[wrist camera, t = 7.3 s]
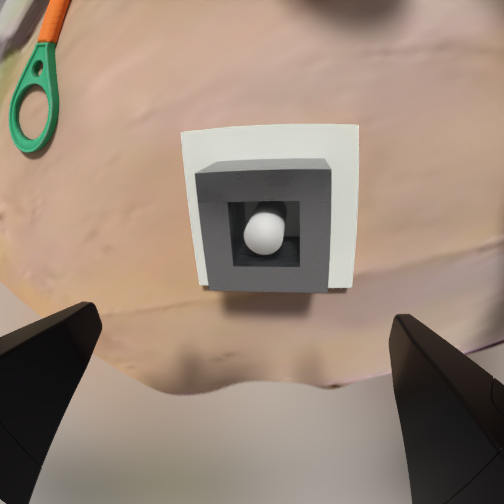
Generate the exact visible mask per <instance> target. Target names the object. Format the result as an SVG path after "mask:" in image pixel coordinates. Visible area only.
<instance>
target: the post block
mask: <svg viewBox="0 0 504 504" xmlns="http://www.w3.org/2000/svg"><path fill="white" fill-rule="evenodd" d="M181 142H182V153H183V163H184V172H185V181H186V190H187V198H188V207H189V215H190V222H191V230H192V237H193V245H194V252H195V258H196V265H197V272H198V278H199V285H208V279H207V272H206V265H205V257H204V250H203V242H202V234H201V226H200V218H199V210H198V201H197V192H196V183H195V173H196V172H198V171H200V170H202V169H204V168H206V167H208V166H209V165H211V164H213V163H215V162H217V161H233V160H253V159H286V158H325V160H326V161H327V163H328V165H329V166H330V168H331V169H332V193H331V239H330V263H329V281H328V288H352V280H353V270H354V259H355V246H356V231H357V213H358V187H359V125H352V124H271V125H251V126H235V127H223V128H212V129H202V130H193V131H185V132H181ZM244 204H245V218H246V228H245V231H244V240H245V243H246V245H247V246H248V247H249V249H250V250H252V251H253V252H255V253H257V254H261V255H267V254H271V253H274V252H275V251H277V250H278V249H279V248H280V246H281V244H282V242H283V236H296V237H300V204H299V201H251V202H244Z"/></svg>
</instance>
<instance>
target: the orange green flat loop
mask: <svg viewBox="0 0 504 504" xmlns="http://www.w3.org/2000/svg"><path fill="white" fill-rule="evenodd" d="M69 2H70V0H50V2H49V5H48V8H47V11H46V14H45V17H44V21H43V24H42V27H41V30H40V34H39V38H38V43H37V44H36V46H35V48H34V51H33V53H32V55H31V57H30V59H29V60H28V62H27V65H26V67H25V69H24V71H23V73H22V75H21V77H20V79H19V81H18V84H17V86H16V88H15V91H14V93H13V96H12V99H11V102H10V107H9V129H10V134H11V137H12V139H13V142H14V144H15V145H16V147H17V148H18V149H19V150H21V151H23V152H27V153H29V152H35V151H38V150H39V149H41V148H43V147H44V146H45V145H46V144H47V142H48V141H49V139H50V138H51V136H52V134H53V132H54V129H55V126H56V123H57V119H58V113H59V93H58V84H57V74H56V62H55V45H56V42H57V39H58V36H59V32H60V29H61V26H62V23H63V20H64V17H65V13H66V10H67V8H68V5H69ZM41 62H43V70H42V73H41V75H40V76H39V75H38V67H39V65H40V64H41ZM35 84H38V85H40V86H41V87H42V88H43V89H44V90H45V92H46V94H47V98H48V103H49V113H48V120H47V123H46V126H45V128H44V131H43V132H42V134H41V135H40V136H39V137H38V138H37V139H35V140H31V139H29V138H27V137H26V136H25V135H24V134H23V132H22V130H21V128H20V124H19V108H20V104H21V101H22V98H23V96H24V95H25V93H26V92H27V90H28V89H29V88H30V87H32V86H33V85H35Z"/></svg>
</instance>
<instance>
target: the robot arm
mask: <svg viewBox="0 0 504 504" xmlns="http://www.w3.org/2000/svg"><path fill="white" fill-rule="evenodd" d="M101 331H102V322H101V319H100V317H99V314H98V311H97V308H96V306H95V304H94V303H92V302H81V303H78V304H76V305H73V306H71V307H69V308H66V309H64V310H62V311H59V312H57V313H55V314H52V315H50V316H48V317H45V318H43V319H41V320H38V321H36V322H34V323H31V324H29V325H27V326H25V327H22V328H20V329H18V330H15V331H13V332H11V333H9V334H6V335H4V336H2V337H0V499H1V500H2V501H3V502H5V503H6V504H29V502H30V499H31V496H32V493H33V490H34V487H35V484H36V482H37V479H38V476H39V474H40V471H41V468H42V467H41V466H42V465H43V463H44V460H45V458H46V455H47V453H48V450H49V448H50V445H51V443H52V441H53V438H54V436H55V434H56V431H57V429H58V427H59V425H60V422H61V420H62V418H63V416H64V413H65V411H66V409H67V407H68V405H69V403H70V400H71V398H72V396H73V394H74V392H75V390H76V388H77V386H78V384H79V382H80V380H81V378H82V376H83V374H84V372H85V370H86V367H87V365H88V363H89V361H90V358H91V355H92V353H93V350H94V348H95V346H96V343H97V341H98V338H99V336H100V333H101ZM389 352H390V359H391V368H392V377H393V387H394V394H395V399H396V404H397V409H398V414H399V419H400V423H401V429H402V434H403V440H404V446H405V452H406V459H407V464H408V472H409V479H410V487H411V496H412V504H504V385H503V384H502V383H501V382H499V381H498V380H497V379H495V378H494V379H493V376H492V375H490V374H489V373H488V372H486V371H485V370H484V369H483V368H481V367H480V366H479V365H477V364H476V363H475V362H474V361H472V360H471V359H470V358H468V357H467V356H466V355H464V354H463V353H462V352H460V351H459V350H458V349H457V348H455V347H454V346H453V345H451V344H450V343H449V342H447V341H446V340H444V339H443V338H442V337H440V336H439V335H438V334H436V333H435V332H434V331H432V330H431V329H430V328H428V327H427V326H426V325H424V324H423V323H421V322H420V321H419V320H417V319H416V318H415V317H413V316H412V315H410V314H397V315H396V316H395V317H394V320H393V324H392V328H391V333H390V337H389Z"/></svg>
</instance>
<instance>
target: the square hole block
mask: <svg viewBox="0 0 504 504" xmlns="http://www.w3.org/2000/svg"><path fill="white" fill-rule="evenodd" d="M195 183H196V192H197V201H198V210H199V218H200V226H201V234H202V242H203V250H204V257H205V265H206V272H207V279H208V286H209V290H214V291H246V292H297V293H328V281H329V263H330V239H331V193H332V169H331V168H330V166H329V165H328V163H327V161H326V160H325V158H286V159H253V160H233V161H217V162H215V163H213V164H211V165H209V166H208V167H206V168H204V169H202V170H200V171H198V172H196V173H195ZM251 201H299V204H300V237H296V236H283V242H282V244H281V246H280V248H279V249H278V250H277V251H275V252H274V253H271V254H267V255H261V254H257V253H255V252H253V251H252V250H250V249H249V247H248V246H247V245H246V243H245V240H244V231H245V228H246V218H245V204H244V202H251Z"/></svg>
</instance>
